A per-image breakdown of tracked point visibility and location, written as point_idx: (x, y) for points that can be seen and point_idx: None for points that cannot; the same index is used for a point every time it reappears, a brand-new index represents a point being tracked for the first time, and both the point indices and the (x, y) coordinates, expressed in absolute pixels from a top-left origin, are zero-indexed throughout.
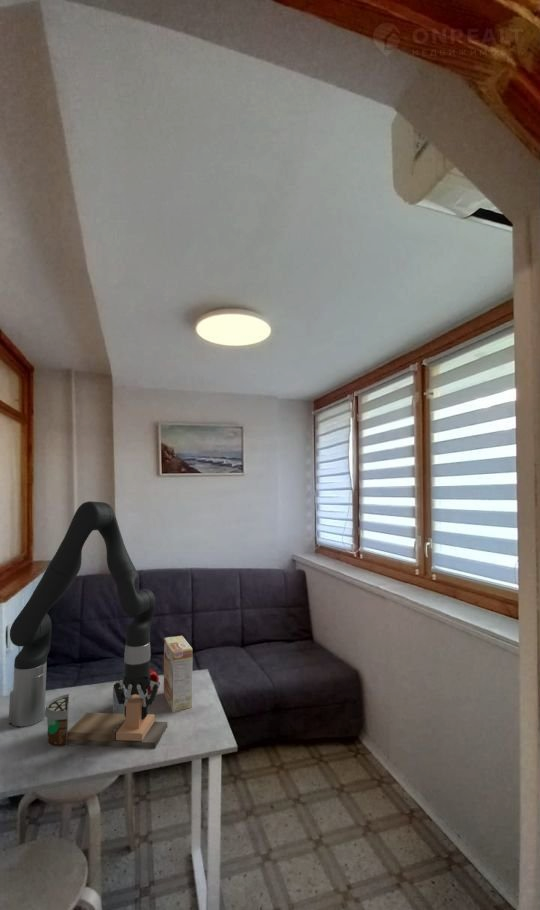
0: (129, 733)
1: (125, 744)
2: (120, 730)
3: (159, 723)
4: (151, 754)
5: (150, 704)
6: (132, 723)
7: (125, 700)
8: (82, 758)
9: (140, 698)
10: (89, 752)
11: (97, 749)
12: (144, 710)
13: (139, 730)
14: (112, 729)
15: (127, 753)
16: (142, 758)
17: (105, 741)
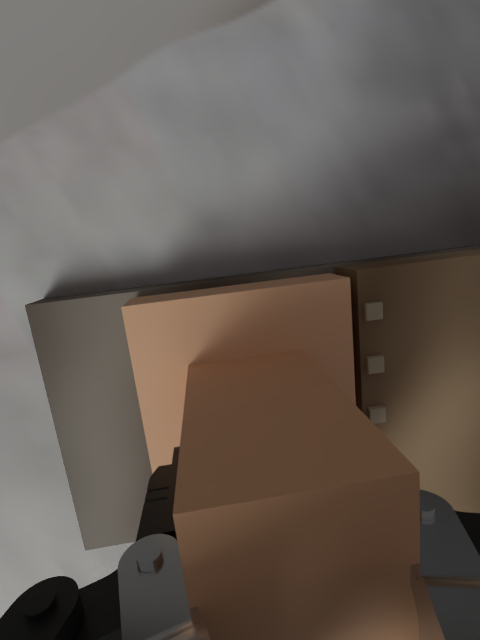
0: (234, 292)
1: (252, 275)
2: (328, 315)
3: (131, 521)
4: (27, 228)
5: (47, 585)
6: (250, 372)
7: (468, 550)
8: (460, 108)
9: (194, 637)
10: (446, 178)
11: (412, 218)
12: (166, 511)
13: (170, 345)
14: (400, 323)
15: (199, 210)
16: (64, 172)
17: (395, 259)
